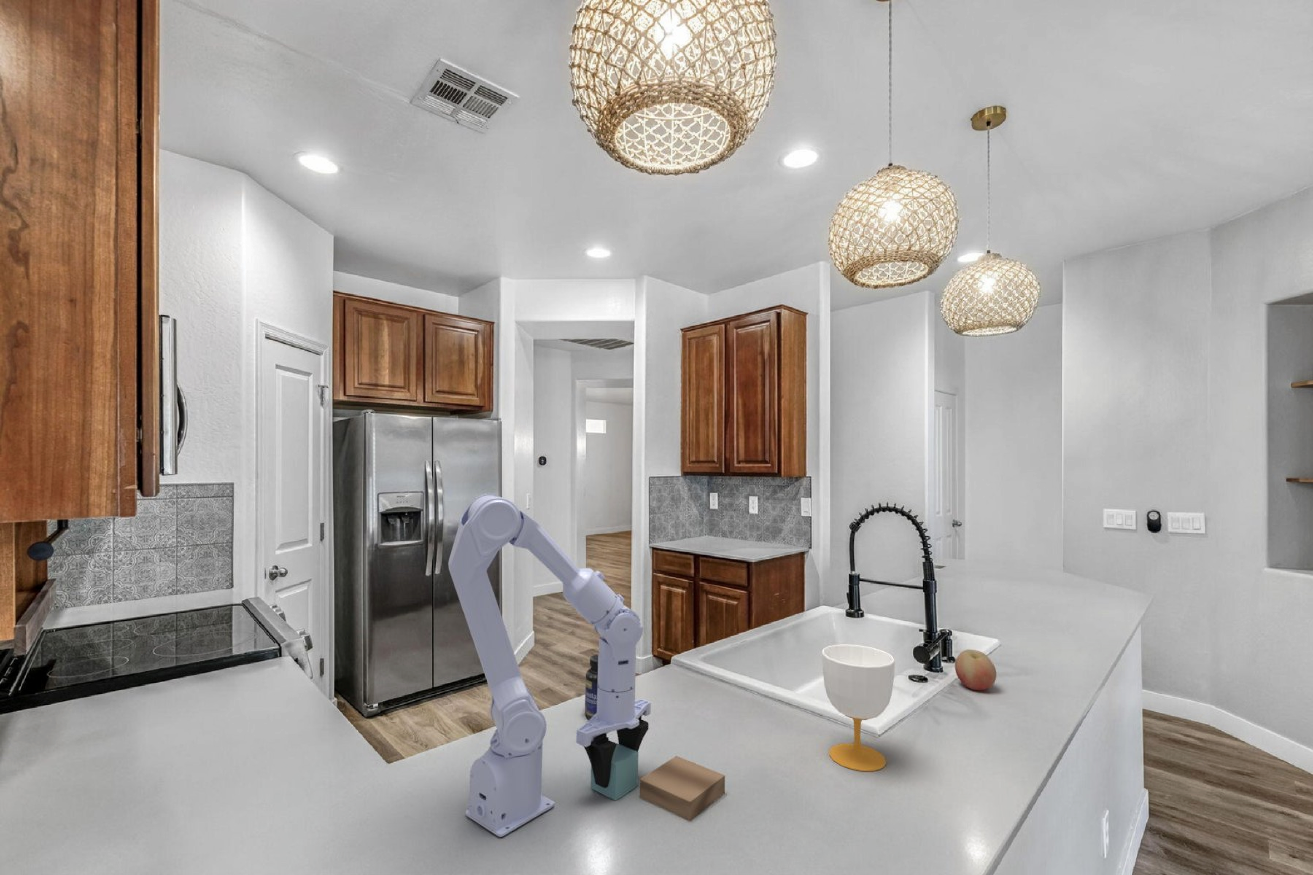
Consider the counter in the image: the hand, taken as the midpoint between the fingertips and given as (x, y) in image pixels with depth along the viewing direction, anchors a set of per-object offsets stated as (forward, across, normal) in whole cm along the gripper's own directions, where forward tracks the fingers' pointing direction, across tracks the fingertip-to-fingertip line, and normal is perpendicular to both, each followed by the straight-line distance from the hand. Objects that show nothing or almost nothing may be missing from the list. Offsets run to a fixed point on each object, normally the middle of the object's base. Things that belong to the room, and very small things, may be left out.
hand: (614, 777), depth 89 cm
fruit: (+2, +82, -34) cm, 89 cm away
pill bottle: (+2, +17, +19) cm, 26 cm away
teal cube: (+1, 0, 0) cm, 1 cm away
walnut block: (+2, +5, -9) cm, 10 cm away
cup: (+2, +33, -25) cm, 41 cm away
